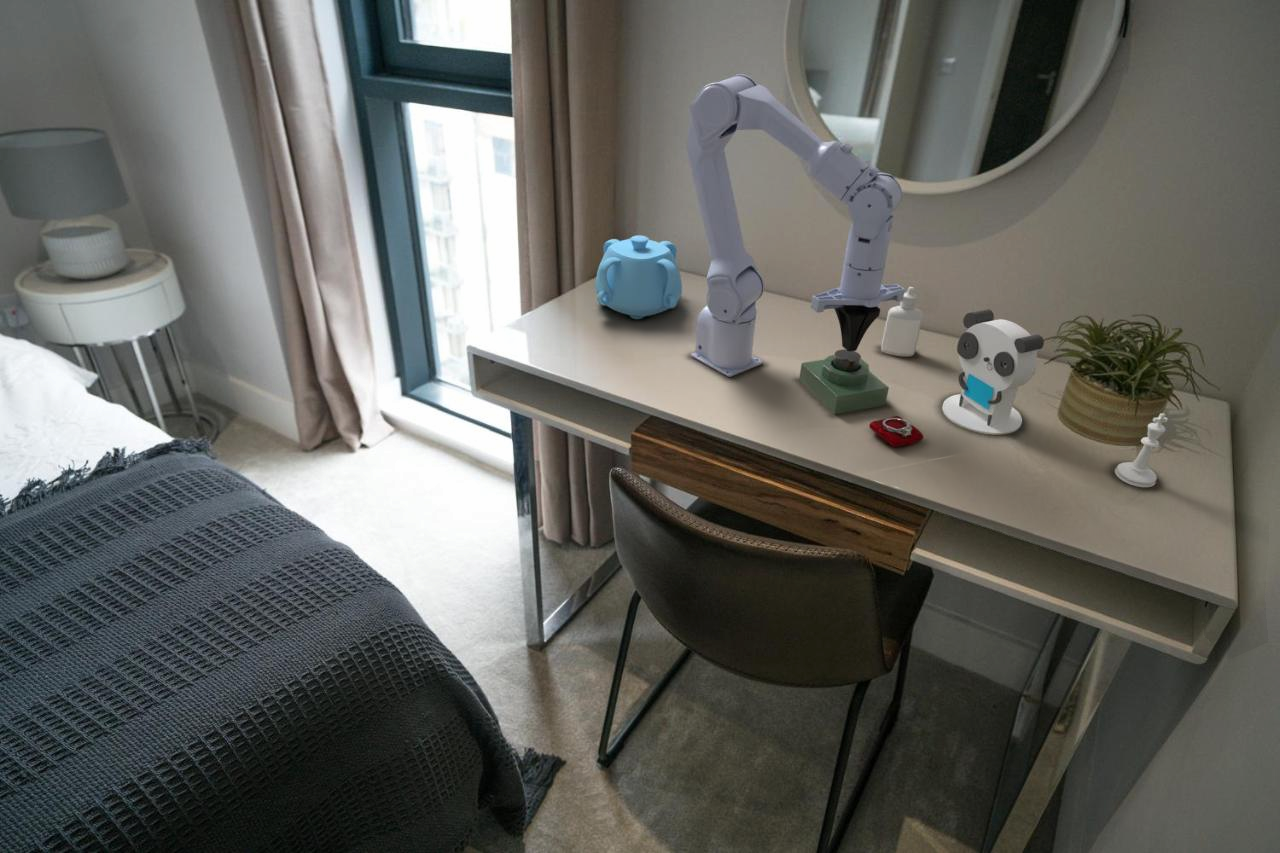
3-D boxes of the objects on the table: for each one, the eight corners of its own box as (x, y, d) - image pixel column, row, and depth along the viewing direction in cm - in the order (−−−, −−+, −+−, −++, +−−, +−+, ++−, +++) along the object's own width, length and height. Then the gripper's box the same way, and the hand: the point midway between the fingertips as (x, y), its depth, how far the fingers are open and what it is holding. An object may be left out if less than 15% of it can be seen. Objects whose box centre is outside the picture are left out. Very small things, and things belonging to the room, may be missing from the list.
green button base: (798, 380, 128) (802, 352, 125) (847, 372, 130) (852, 345, 127) (834, 414, 119) (839, 385, 116) (885, 405, 121) (891, 377, 119)
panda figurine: (923, 401, 123) (945, 313, 114) (979, 388, 126) (1004, 301, 118) (979, 441, 113) (1007, 348, 105) (1038, 425, 117) (1069, 334, 109)
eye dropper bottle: (905, 361, 134) (920, 296, 127) (876, 350, 137) (889, 286, 130) (918, 353, 136) (933, 288, 130) (888, 342, 140) (902, 279, 133)
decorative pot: (587, 320, 145) (585, 249, 138) (604, 286, 159) (604, 220, 151) (674, 328, 143) (678, 256, 136) (684, 293, 157) (688, 226, 149)
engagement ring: (893, 452, 111) (897, 436, 109) (865, 431, 115) (868, 415, 113) (924, 442, 113) (928, 426, 111) (895, 422, 117) (899, 406, 116)
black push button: (827, 362, 123) (829, 351, 122) (849, 359, 124) (852, 347, 123) (841, 374, 120) (843, 362, 119) (863, 371, 121) (866, 359, 120)
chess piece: (1107, 466, 109) (1133, 404, 103) (1140, 465, 109) (1168, 403, 104) (1128, 488, 105) (1156, 425, 99) (1163, 487, 105) (1193, 423, 100)
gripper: (834, 279, 108) (820, 366, 115) (924, 268, 112) (905, 353, 119) (809, 261, 113) (797, 345, 121) (895, 251, 117) (878, 333, 125)
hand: (849, 348), depth 120 cm, fingers closed
